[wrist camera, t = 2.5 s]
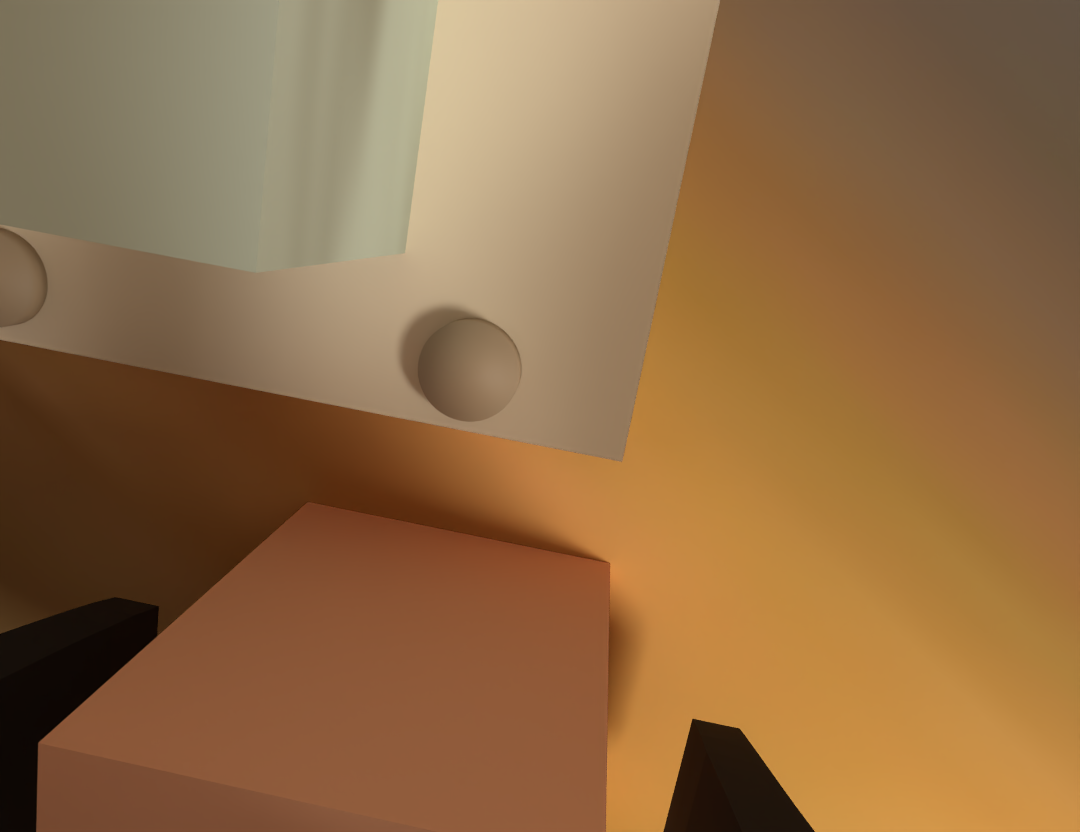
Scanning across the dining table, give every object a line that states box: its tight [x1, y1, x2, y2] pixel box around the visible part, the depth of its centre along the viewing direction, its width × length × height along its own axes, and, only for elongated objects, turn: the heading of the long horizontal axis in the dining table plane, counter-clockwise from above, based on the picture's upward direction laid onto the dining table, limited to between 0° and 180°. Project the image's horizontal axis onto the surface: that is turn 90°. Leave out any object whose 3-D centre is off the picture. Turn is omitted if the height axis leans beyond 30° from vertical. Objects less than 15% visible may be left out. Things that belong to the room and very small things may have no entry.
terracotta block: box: [36, 502, 610, 832], centre depth 9 cm, size 4×4×6 cm
